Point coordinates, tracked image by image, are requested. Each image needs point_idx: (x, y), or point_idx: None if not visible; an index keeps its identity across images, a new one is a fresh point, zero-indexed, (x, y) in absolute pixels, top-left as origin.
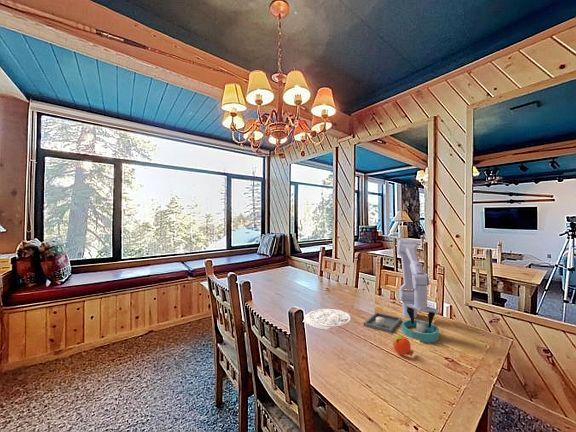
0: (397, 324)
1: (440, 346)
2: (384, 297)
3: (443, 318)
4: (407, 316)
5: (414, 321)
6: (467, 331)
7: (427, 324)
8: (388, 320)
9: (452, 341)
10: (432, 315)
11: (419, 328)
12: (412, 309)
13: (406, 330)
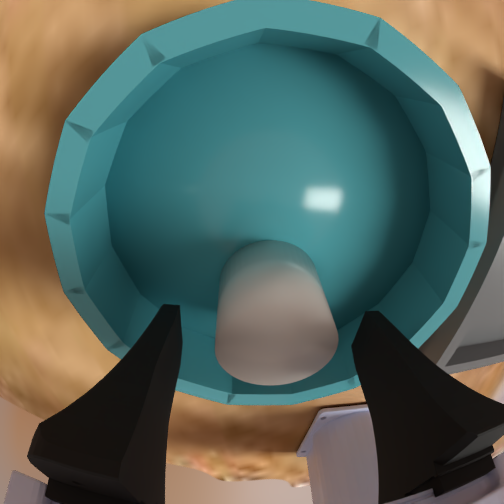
0: (472, 276)
1: (53, 63)
2: None
3: (181, 462)
4: (370, 420)
5: (343, 371)
6: (42, 393)
7: (216, 375)
8: (497, 316)
9: (15, 234)
10: (34, 452)
11: (287, 265)
12: (424, 483)
13: (442, 80)
